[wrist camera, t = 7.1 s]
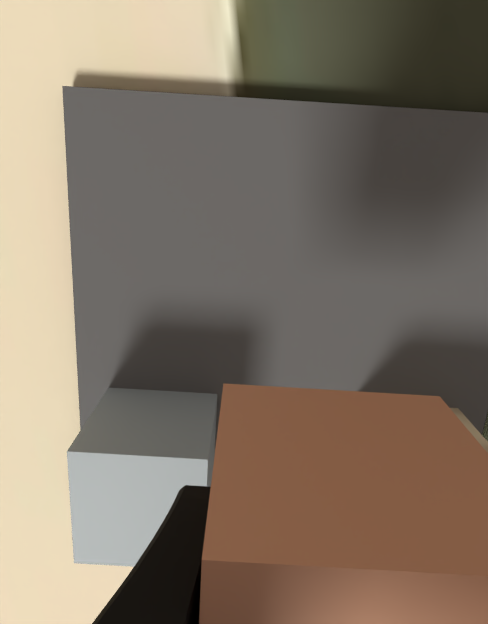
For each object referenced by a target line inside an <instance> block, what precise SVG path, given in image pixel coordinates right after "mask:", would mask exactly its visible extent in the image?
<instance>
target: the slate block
mask: <svg viewBox="0 0 488 624" xmlns="http://www.w3.org/2000/svg"><path fill="white" fill-rule="evenodd" d="M216 414H217V394H210V393H193V392H176V391H159V390H142V389H125V388H108V389H107V391H106V392H105V394H104V395H103V397H102V398H101V400H100V402H99V403H98V405H97V406H96V408H95V409H94V411H93V412H92V414H91V415H90V417H89V418H88V420H87V422H86V423H85V425H84V426H83V428H82V429H81V431H80V432H79V434H78V435H77V437H76V438H75V440H74V441H73V443H72V445H71V446H70V448H69V449H68V451H67V459H68V474H69V490H70V506H71V522H72V537H73V553H74V563H80V564H98V565H116V566H133V567H134V566H135V565H136V563H137V562H138V560H139V559H140V557H141V556H142V554H143V553H144V551H145V550H146V548H147V547H148V545H149V544H150V542H151V541H152V539H153V537H154V536H155V534H156V532H157V531H158V529H159V527H160V526H161V524H162V522H163V521H164V519H165V517H166V515H167V514H168V512H169V510H170V508H171V506H172V504H173V502H174V500H175V498H176V496H177V494H178V492H179V490H180V489H181V488H182V487H184V486H185V485H191V486H209V487H211V480H212V472H213V464H214V456H215V435H216Z"/></svg>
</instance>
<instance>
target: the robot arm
mask: <svg viewBox="0 0 488 624" xmlns="http://www.w3.org/2000/svg"><path fill="white" fill-rule="evenodd" d="M210 488H211V487H209V486H191V485H185V486H184V487H182V488H181V489H180V490H179V492H178V494H177V496H176V498H175V500H174V502H173V504H172V506H171V508H170V510H169V512H168V514H167V515H166V517H165V519H164V521H163V522H162V524H161V526H160V527H159V529H158V531H157V532H156V534H155V536H154V537H153V539H152V541H151V542H150V544H149V545H148V547H147V548H146V550H145V551H144V553H143V554H142V556H141V557H140V559H139V560H138V562H137V563H136V565H135V566H134V568H133V569H132V571H131V572H130V574H129V575H128V576H127V578H126V579H125V581H124V582H123V583H122V585H121V586H120V587H119V589H118V590H117V591H116V593H115V594H114V595H113V597H112V598H111V599H110V601H109V602H108V603H107V605H106V606H105V607H104V609H103V610H102V611H101V613H100V614H99V615H98V617H97V618H96V619H95V621H94V622H93V623H92V624H199V615H200V590H201V565H202V553H203V545H204V537H205V529H206V521H207V513H208V505H209V497H210Z"/></svg>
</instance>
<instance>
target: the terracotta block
mask: <svg viewBox="0 0 488 624" xmlns="http://www.w3.org/2000/svg"><path fill="white" fill-rule="evenodd" d="M199 624H488V453H487V452H486V450H485V449H484V448H483V447H482V446H481V444H480V443H479V442H478V441H477V440H476V439H475V437H474V436H473V435H472V434H471V433H470V431H469V430H468V429H467V428H466V427H465V426H464V424H463V423H462V422H461V421H460V420H459V418H458V417H457V416H456V415H455V414H454V413H453V411H452V410H451V409H450V408H449V407H448V405H447V404H446V403H445V402H444V401H443V400H442V398H441V397H440V396H428V395H411V394H394V393H377V392H360V391H343V390H326V389H309V388H292V387H275V386H258V385H241V384H224V383H223V391H222V399H221V407H220V415H219V423H218V432H217V440H216V448H215V456H214V464H213V472H212V480H211V488H210V497H209V505H208V513H207V521H206V529H205V537H204V545H203V553H202V565H201V590H200V615H199Z"/></svg>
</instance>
